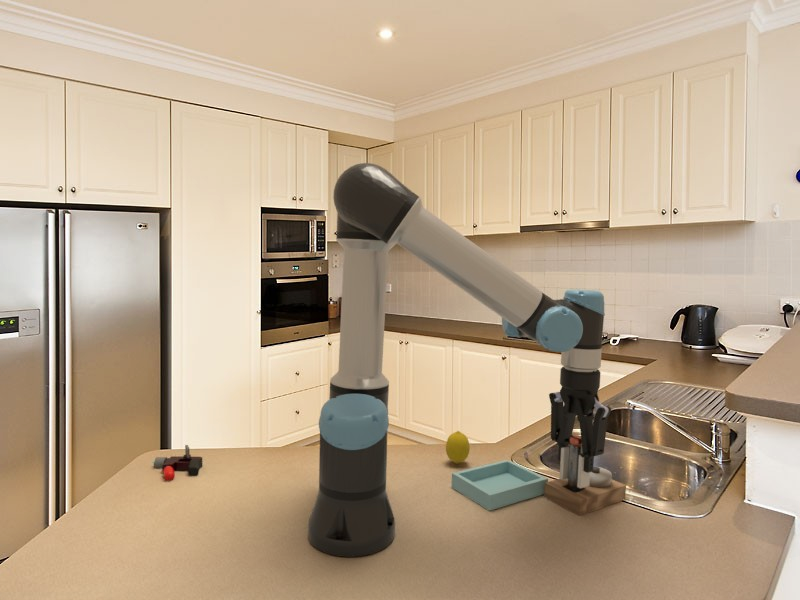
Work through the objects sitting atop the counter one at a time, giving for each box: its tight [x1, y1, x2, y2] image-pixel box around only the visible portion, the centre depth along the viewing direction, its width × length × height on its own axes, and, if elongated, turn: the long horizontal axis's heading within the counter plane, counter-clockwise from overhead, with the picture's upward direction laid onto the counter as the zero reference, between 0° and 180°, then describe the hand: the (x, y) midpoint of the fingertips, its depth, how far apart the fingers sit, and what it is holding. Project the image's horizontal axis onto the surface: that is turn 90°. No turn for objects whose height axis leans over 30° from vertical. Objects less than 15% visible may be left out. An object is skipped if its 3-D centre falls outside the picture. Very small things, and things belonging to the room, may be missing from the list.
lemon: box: [445, 430, 470, 465], centre depth 126 cm, size 6×6×8 cm
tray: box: [451, 459, 549, 511], centre depth 113 cm, size 16×12×3 cm
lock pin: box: [567, 434, 583, 493], centre depth 107 cm, size 3×3×14 cm
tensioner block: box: [543, 465, 627, 516], centre depth 110 cm, size 14×9×6 cm, turn 122°
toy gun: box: [151, 444, 203, 482], centre depth 117 cm, size 10×12×5 cm
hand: (574, 481), depth 108 cm, fingers open, 4 cm apart
